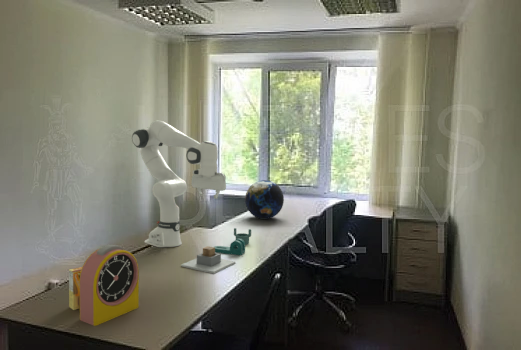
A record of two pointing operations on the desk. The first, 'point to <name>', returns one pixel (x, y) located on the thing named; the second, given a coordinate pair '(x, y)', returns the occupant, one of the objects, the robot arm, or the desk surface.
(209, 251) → the walnut block
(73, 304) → the candy box
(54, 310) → the desk surface
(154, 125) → the robot arm
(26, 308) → the desk surface
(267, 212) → the globe
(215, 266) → the well
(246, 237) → the bracket
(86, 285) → the alarm clock
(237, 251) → the bracket
